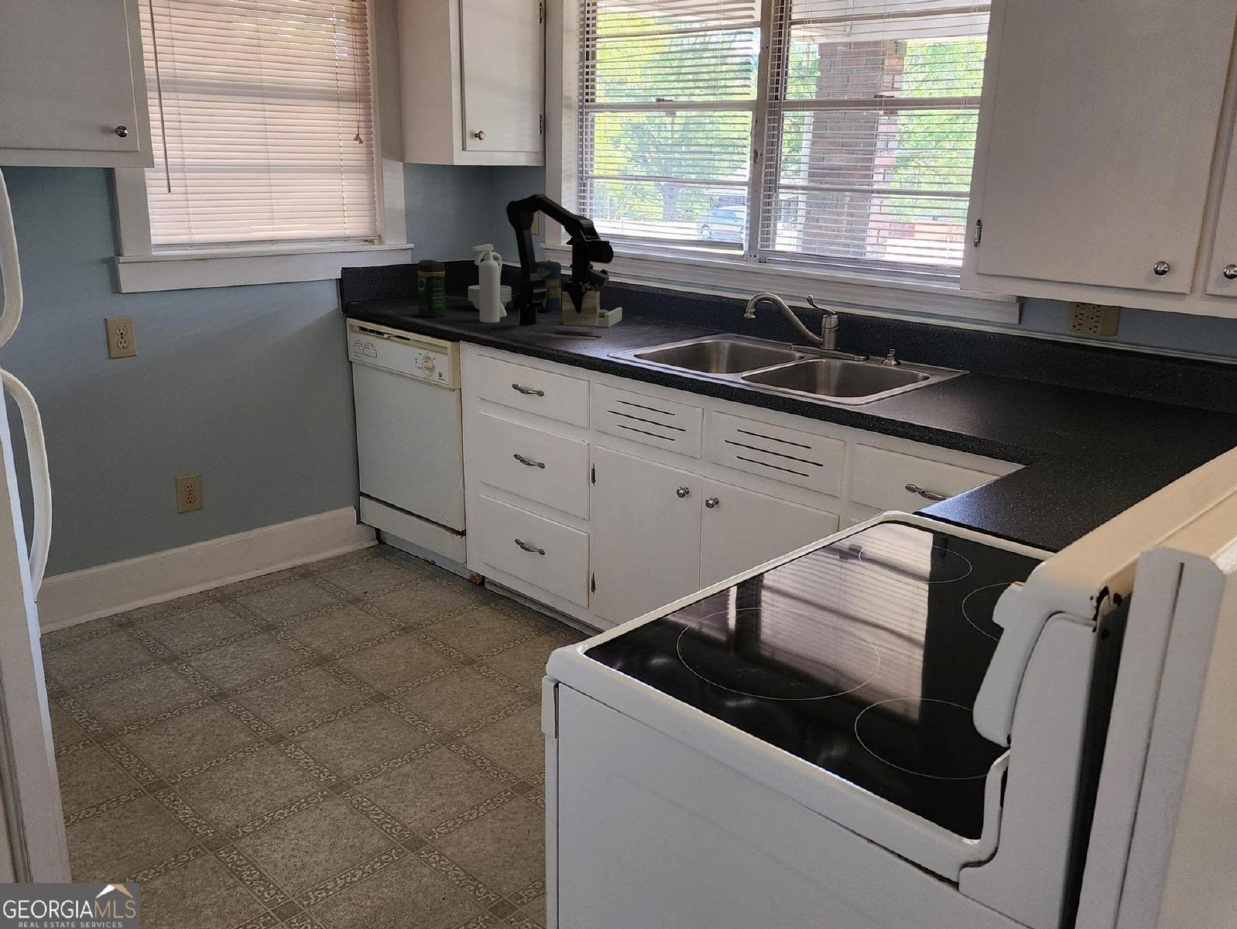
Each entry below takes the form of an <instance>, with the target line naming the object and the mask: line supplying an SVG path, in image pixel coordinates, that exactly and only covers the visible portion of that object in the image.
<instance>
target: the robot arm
mask: <svg viewBox="0 0 1237 929" xmlns="http://www.w3.org/2000/svg"><path fill="white" fill-rule="evenodd" d="M505 210H506V212H505V213H506V216H507V220H508V222H509V224H510V225H511V227H512V228H513V229H514V232H515V238H516V244H517V245H516V246H517V252H518V258H519V265H520V271H521V279H520V280H519V281H520V282H519V285H518V294H517V296H516V297H515V298H513V300H512V304H513V308H515V309H518V323H517V324H516V325H515V327H517V326H519V325H520V326H535V325H537V324H538V310H537V307H542V305H543V301H544V299H545V298H546V292H547V289H546V281H545V279H541V278H540V277H539V275H538V273H537V267H536V262H537V261H536V255H535V248H534V242H533V235H532V225H533V222H534V220H535V218H534V217H535V215H534V214H535V213H537V212H539V211H540V212H542V213H543V214H545V215H546V216H548V217H549V218H551V219H552V220H554V221H556V222H557V223H559V225H562V227H563V229H564V231H565V232H566V233H567V234H568V235H569V236H570V239H569V240H568V241H567V242H565V244H566V246H567V245H568V246H571V264H569V269H571V277H570V278H569V280H568V281H565V282H564V283H563V284H561V292H562V293H563V292H567V293H568V294H569V296H570V298H571V300H572V302H573V305H574V307H575V309H576V312H577V313H581V308H582V302H583V296H584V295H585V294H586V293H587V292H588V291H595V287H600V288H605V287H606V286H607V283H608V281H610V275H609V271H608V270H607V269H605V268H602V269H601V270H600V271H599V270H596V269H594V264H593V263H598V264H606V265H608V264H610V263H612V261H613V259H614V255H615V253H614V249H613V246H612V244H610V240H608V239H607V240H606V239H604V240H602V239H601V236H600V234H599V233H598V231H597V229H596V227H595V224H594V223H595V222H594V221H593V220H592V219H591V218H589V217H586V216H583V215H581V214H580V215H579V214H575V213H573V212H571V211H570V210H568V209H566V208H564V207H563V206H561V205H560V204H559V203H557V202H555V201H553V200H552V199H551V198H549V197H548V196H547V195H545V194H544V193H535V194H532V195H530V196H529V197H526V198H522V199H519V200H511V201H509V202H508V204H507V205H506V208H505ZM591 286H594V287H591Z"/></svg>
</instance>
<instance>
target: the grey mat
mask: <svg viewBox="0 0 1237 929" xmlns="http://www.w3.org/2000/svg"><path fill="white" fill-rule="evenodd" d="M551 337H552V338H561V339H562V338H563V339H578V340H589V341H590V340H592V341H597V340H599V339H600V338H602V337H603V335H592V334H591V335H590V334H575V333H559V332H556V333H554V334H552V335H551Z"/></svg>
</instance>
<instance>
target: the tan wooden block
mask: <svg viewBox="0 0 1237 929" xmlns="http://www.w3.org/2000/svg"><path fill="white" fill-rule="evenodd" d="M600 294H601V292H600V291H597V290H596V291H595V290H592V291H588V292H587V293H586V294H585V295H584V296H583V302H582V308H581V313H577V312H576V309H575V307H574V305H573V302H572V300H571V298H570V296H569V294H568V293H567V292H563V291H562V292H561V302H562V304H561V305H562V306H561V308H562V310H561V316H562V318H561V323H562V324H564V323H568V324H582V325H598V324H599V310H600V301H601V300H600V296H601V295H600Z"/></svg>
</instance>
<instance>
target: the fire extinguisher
mask: <svg viewBox="0 0 1237 929" xmlns="http://www.w3.org/2000/svg"><path fill="white" fill-rule="evenodd" d="M471 251H475V252H477V251H479V252H478V253H477V255H476V257H475V259H474V265H476V266H478V285H479V308H480V310H479V322H482V323H490V324H491V323H492V324H493V323H499V322H500V319H501V318H503V317H505V318H506V316H507V311H506V309H505V308H504V307H503V304H501V302H500V298H499V297H500V285H501V274H502V268H503V262H502V256H501V255H500V253H497V252H496V251H495V250H494V245H493V244H491V243H486V244H481V245H477V246H472V247H471ZM492 251H495V252H492ZM484 255H485V256H484ZM493 256H495V257H497V258H498V262H497V261H495V260H494V258H493ZM483 257H484V260H482V258H483ZM481 260H482V261H481Z"/></svg>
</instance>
